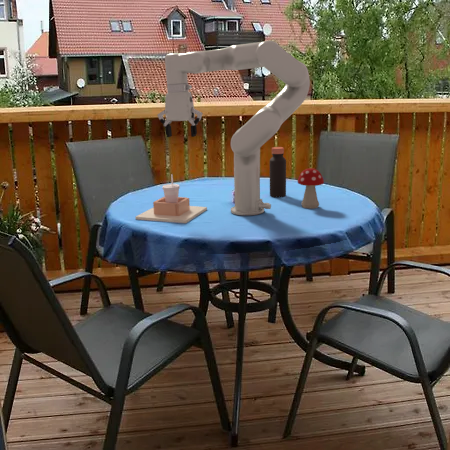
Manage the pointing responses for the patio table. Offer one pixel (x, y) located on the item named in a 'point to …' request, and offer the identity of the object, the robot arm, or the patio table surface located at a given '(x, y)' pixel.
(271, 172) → the vinegar
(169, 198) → the smoothie
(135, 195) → the patio table surface
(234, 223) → the patio table surface
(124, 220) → the patio table surface
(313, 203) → the decorative mushroom
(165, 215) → the open brown bin
